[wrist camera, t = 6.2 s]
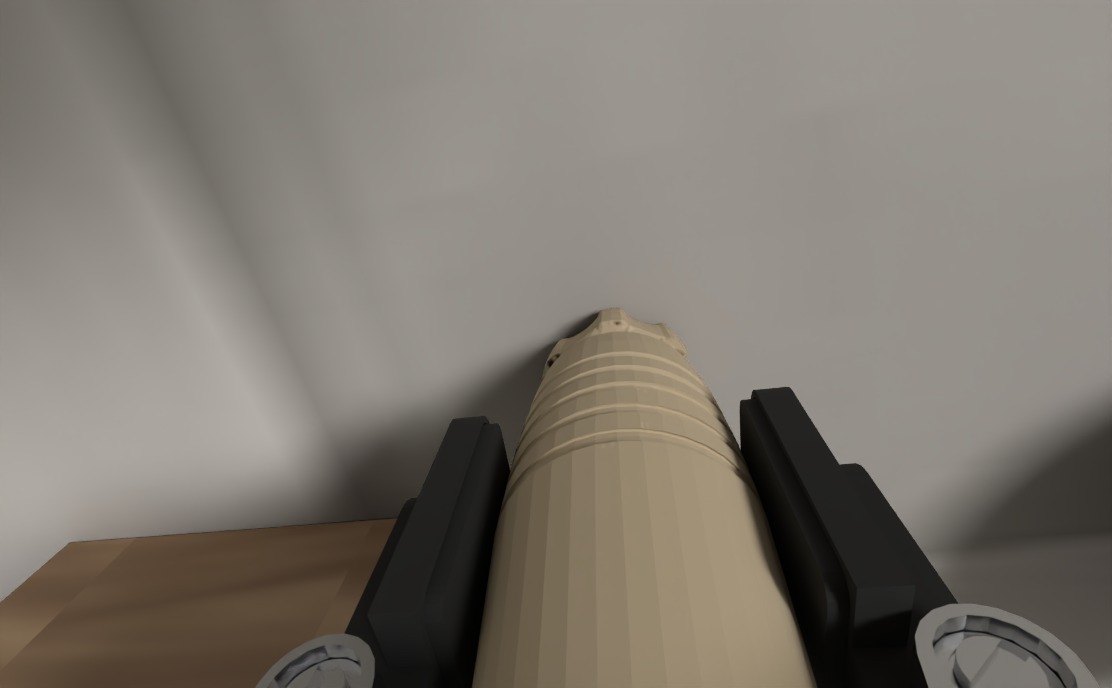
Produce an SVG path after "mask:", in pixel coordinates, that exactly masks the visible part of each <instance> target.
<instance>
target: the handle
mask: <svg viewBox="0 0 1112 688" xmlns="http://www.w3.org/2000/svg"><path fill="white" fill-rule="evenodd" d="M686 356H687V350H686V348H685V347H684V345H683V343H682V342H681V340H680V339H679V338H678V336H677V335H676V334H675V333H674V332H673V331H672V330H671V329H670V328H669V327H668V326H667V325H666V324H662V323H659V324H656V325H653V324H647V323H643V322H639V321H637V320H635V319H633V318H631V317H630V316H628V315H627V314H625V312H624V311H623V309H620V308H610V309H605V310H602V311H600V312H599V315H598V317H597V318H596V319H595V321H594V322H593V323H592V324H591V325H590V326H589V327H587V328H586V329H585V330H584V331H582V332H581V333H579V334H577V335H576V336H574V337H571V338H565V339H560V340H559V342H558V343H557V344H556V345H555V347H554V348H553V350H552V351H551V353H550V355H549V357H548V359H547V362H546V364H545V367H544V370H543V374H542V383H541V385H540V387H539V389H538V391H537V393H536V395H535V397H534V400H533V402H532V405H531V407H530V410H529V412H528V415H527V418H526V421H525V424H524V427H523V431H522V434H521V437H520V440H519V443H518V446H517V449H516V452H515V456H514V459H513V463H512V467H511V471H510V474H509V478H508V482H507V486H506V490H505V495H504V499H503V502H502V506H501V510H500V514H499V519H498V524H497V528H496V531H495V535H494V542H493V549H492V556H491V562H490V569H489V576H488V583H487V589H486V596H485V603H484V610H483V616H482V623H481V630H480V636H479V643H478V650H477V657H476V663H475V670H474V677H473V684H472V688H817V684H816V681H815V678H814V674H813V671H812V667H811V664H810V661H809V657H808V654H807V651H806V647H805V644H804V640H803V637H802V634H801V630H800V627H799V623H798V620H797V617H796V613H795V610H794V607H793V603H792V600H791V596H790V593H789V590H788V586H787V583H786V579H785V576H784V573H783V569H782V566H781V563H780V559H779V556H778V552H777V549H776V546H775V542H774V539H773V535H772V532H771V529H770V525H769V522H768V518H767V515H766V513H765V511H764V509H763V506H762V503H761V500H760V497H759V494H758V492H757V489H756V487H755V484H754V482H753V480H752V478H751V475H750V472H749V469H748V467H747V464H746V462H745V459H744V457H743V454H742V452H741V450H740V448H739V445H738V443H737V441H736V439H735V437H734V435H733V433H732V431H731V429H730V427H729V426H728V424H727V422H726V420H725V418H724V416H723V414H722V412H721V410H720V408H719V406H718V404H717V403H716V401H715V399H714V397H713V395H712V393H711V392H710V390H709V389H708V387H707V386H706V384H705V383H704V381H703V380H702V378H701V377H700V376H699V374H698V373H697V372H696V371H695V369H694V368H693V367H692V366H691V364H690V363H689V362H688V361H687V359H686Z"/></svg>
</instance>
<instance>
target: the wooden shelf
mask: <svg viewBox="0 0 1112 688" xmlns="http://www.w3.org/2000/svg"><path fill="white" fill-rule="evenodd" d="M396 520H397V518H395V519H381V520H368V521H355V522H341V523H328V524H314V525H301V526H288V527H274V528H261V529H248V530H234V531H221V532H207V533H194V534H181V535H167V536H154V537H140V538H127V539H114V540H100V541H87V542H74V543H69V544H68V545H67V546H65V547H64V548H63V549H62V550H61V551H60V552H58V553H57V554H56V555H55V556H54V557H53V558H52V559H50V560H49V561H48V562H47V563H46V564H45V565H43V566H42V567H41V568H40V569H39V570H38V571H36V572H35V573H34V574H33V575H32V576H31V577H30V578H28V579H27V580H26V581H25V582H24V583H23V584H21V585H20V586H19V587H18V588H17V589H16V590H15V591H13V592H12V593H11V594H10V595H9V596H8V597H6V598H5V599H4V600H3V601H2V602H1V603H0V688H255V687H256V686H257V684H258V682H259V681H260V680H261V679H262V678H263V677H264V675H265V674H266V673H267V672H268V671H269V669H270V668H271V667H272V666H273V665H274V664H275V663H277V662H278V661H279V660H280V659H281V658H283V657H284V656H285V655H286V654H288V653H289V652H290V651H292V650H293V649H295V648H297V647H299V646H301V645H302V644H304V643H306V642H308V641H310V640H313V639H316V638H319V637H322V636H325V635H331V634H344V632H345V630H346V628H347V626H348V624H349V622H350V620H351V617H352V615H353V613H354V611H355V609H356V607H357V604H358V602H359V600H360V598H361V596H362V594H363V592H364V589H365V587H366V585H367V583H368V581H369V579H370V576H371V574H372V572H373V570H374V568H375V566H376V563H377V561H378V559H379V557H380V555H381V553H382V551H383V548H384V546H385V544H386V542H387V540H388V538H389V535H390V533H391V531H392V529H393V527H394V525H395V523H396Z"/></svg>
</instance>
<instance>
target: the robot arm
mask: <svg viewBox="0 0 1112 688" xmlns="http://www.w3.org/2000/svg"><path fill="white" fill-rule="evenodd" d="M740 440H741V452H742V454H743V457H744V459H745V462H746V464H747V467H748V469H749V472H750V475H751V478H752V480H753V482H754V484H755V487H756V489H757V492H758V494H759V497H760V500H761V503H762V506H763V509H764V511H765V513H766V515H767V518H768V522H769V525H770V529H771V532H772V535H773V539H774V542H775V546H776V549H777V552H778V556H779V559H780V563H781V566H782V569H783V573H784V576H785V579H786V583H787V586H788V590H789V593H790V596H791V600H792V603H793V607H794V610H795V613H796V617H797V620H798V623H799V627H800V630H801V634H802V637H803V640H804V644H805V647H806V651H807V654H808V657H809V661H810V664H811V667H812V671H813V674H814V678H815V681H816V684H817V688H1100V686H1099V684H1098V683H1097V681H1096V680H1095V678H1094V676H1093V675H1092V673H1091V672H1090V671H1089V670H1088V668H1087V667H1086V666H1085V665H1084V663H1083V662H1082V661H1081V660H1080V658H1079V657H1078V656H1077V655H1076V653H1075V652H1073V651H1072V650H1071V649H1070V648H1069V647H1067V646H1066V645H1065V644H1064V643H1063V642H1061V641H1060V640H1059V639H1058V638H1056V637H1055V636H1054V635H1053V634H1052V633H1050V632H1048V631H1046V630H1045V629H1043V628H1041V627H1040V626H1038V625H1036V624H1034V623H1033V622H1031V621H1029V620H1027V619H1026V618H1023V617H1020V616H1018V615H1015V614H1012V613H1010V612H1007V611H1005V610H1002V609H999V608H995V607H989V606H984V605H979V604H974V603H967V604H958V602H957V601H956V600H955V598H954V597H953V595H952V594H951V592H950V591H949V589H948V588H947V587H946V585H945V584H944V582H943V581H942V579H941V578H940V576H939V575H938V574H937V572H936V571H935V569H934V568H933V566H932V565H931V563H930V562H929V561H928V559H927V558H926V556H925V555H924V553H923V552H922V550H921V549H920V548H919V546H918V545H917V543H916V542H915V540H914V539H913V538H912V536H911V535H910V533H909V532H908V530H907V529H906V527H905V526H904V525H903V523H902V522H901V520H900V519H899V517H898V516H897V514H896V513H895V512H894V510H893V509H892V507H891V506H890V504H889V503H888V501H887V500H886V499H885V497H884V496H883V494H882V493H881V491H880V490H879V488H878V487H877V486H876V484H875V483H874V481H873V480H872V478H871V477H870V476H869V474H868V473H867V471H866V470H865V469H864V468H863V467H862V466H861V465H859V464H856V463H854V464H842V465H839V464H838V462H837V460H836V459H835V457H834V456H833V454H832V452H831V451H830V449H829V448H828V446H827V445H826V443H825V441H824V440H823V438H822V437H821V435H820V434H819V432H818V430H817V429H816V427H815V426H814V424H813V422H812V421H811V419H810V418H809V416H808V415H807V413H806V411H805V410H804V408H803V407H802V405H801V404H800V402H799V400H798V399H797V397H796V396H795V394H794V392H793V391H792V390H791V388H790V387H781V388H771V389H760V390H753V392H752V395H751V399H748V400H741V402H740ZM509 474H510V468H509V464H508V459H507V455H506V450H505V446H504V441H503V437H502V433H501V429H500V426H499V424H498V423H494V424H489V421H488V419H487V417H485V416H480V417H470V418H460V419H453V420H452V422H451V423H450V426H449V428H448V430H447V433H446V435H445V437H444V439H443V442H442V444H441V446H440V449H439V451H438V453H437V455H436V458H435V460H434V462H433V465H432V467H431V469H430V471H429V474H428V476H427V478H426V481H425V483H424V485H423V487H422V490H421V492H420V494H419V497H418V498H411V499H410V500H408V501H406V503H405V504H404V506H403V508H402V510H401V512H400V514H399V516H398V518H397V520H396V523H395V525H394V527H393V529H392V531H391V533H390V535H389V538H388V540H387V542H386V544H385V546H384V548H383V551H382V553H381V555H380V557H379V559H378V561H377V563H376V566H375V568H374V570H373V572H372V574H371V576H370V579H369V581H368V583H367V585H366V587H365V589H364V592H363V594H362V596H361V598H360V600H359V602H358V604H357V607H356V609H355V611H354V613H353V615H352V617H351V620H350V622H349V624H348V626H347V628H346V630H345V632H344V634H331V635H325V636H322V637H319V638H316V639H313V640H310V641H308V642H306V643H304V644H302V645H301V646H299V647H297V648H295V649H293V650H292V651H290V652H289V653H288V654H286V655H285V656H284V657H283V658H281V659H280V660H279V661H278V662H277V663H275V664H274V665H273V666H272V667H271V668H270V669H269V671H268V672H267V673H266V674H265V675H264V677H263V678H262V679H261V680H260V681H259V682H258V684H257V686H256V687H255V688H472V684H473V677H474V670H475V663H476V657H477V650H478V643H479V636H480V630H481V623H482V616H483V610H484V603H485V596H486V589H487V583H488V576H489V569H490V562H491V556H492V549H493V542H494V535H495V531H496V528H497V524H498V519H499V514H500V510H501V506H502V502H503V499H504V495H505V490H506V486H507V482H508V478H509Z"/></svg>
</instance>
